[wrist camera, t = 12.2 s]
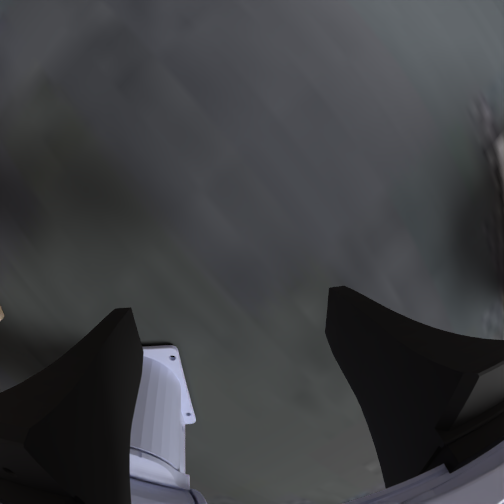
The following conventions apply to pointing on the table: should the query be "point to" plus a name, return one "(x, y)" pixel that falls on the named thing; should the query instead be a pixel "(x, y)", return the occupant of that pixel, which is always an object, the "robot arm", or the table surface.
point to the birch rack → (1, 314)
